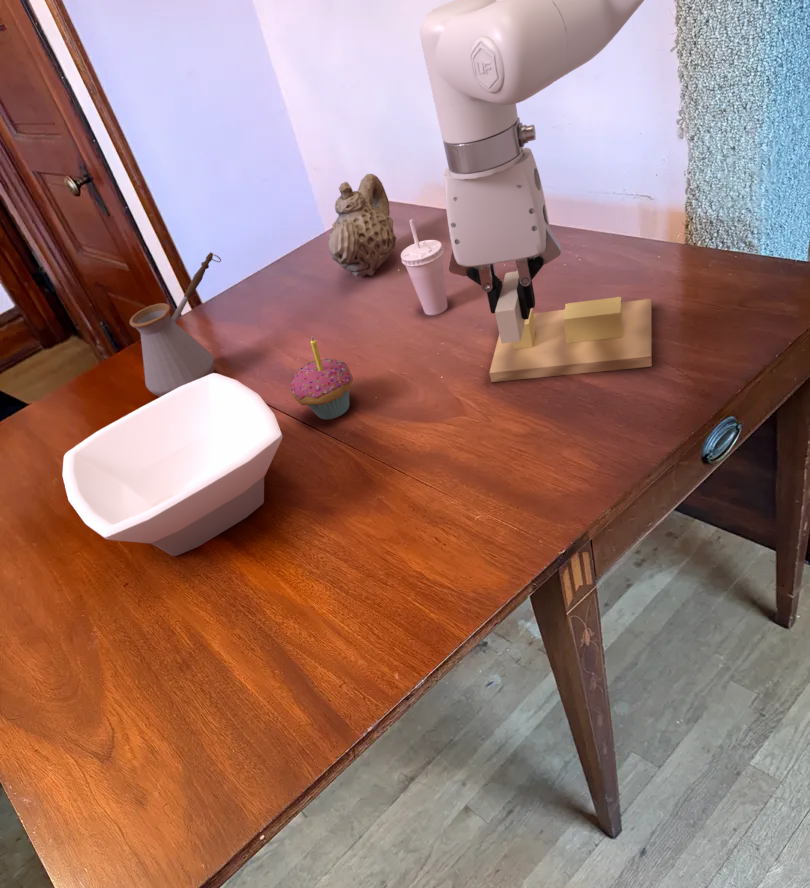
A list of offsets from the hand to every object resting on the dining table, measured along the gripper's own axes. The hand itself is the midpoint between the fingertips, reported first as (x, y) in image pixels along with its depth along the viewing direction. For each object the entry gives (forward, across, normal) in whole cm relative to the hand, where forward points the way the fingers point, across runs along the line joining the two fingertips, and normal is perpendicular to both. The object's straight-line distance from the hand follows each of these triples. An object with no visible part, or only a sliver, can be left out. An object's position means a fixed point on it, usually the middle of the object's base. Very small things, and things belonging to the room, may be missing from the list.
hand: (514, 314), depth 86 cm
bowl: (+11, +39, +19) cm, 45 cm away
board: (+11, -5, -10) cm, 16 cm away
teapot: (+11, +34, -44) cm, 57 cm away
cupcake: (+11, +27, 0) cm, 30 cm away
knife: (+1, 0, -5) cm, 5 cm away
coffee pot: (+11, +54, -15) cm, 57 cm away
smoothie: (+11, +18, -25) cm, 33 cm away
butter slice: (+9, +2, -10) cm, 14 cm away
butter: (+10, -8, -10) cm, 16 cm away
